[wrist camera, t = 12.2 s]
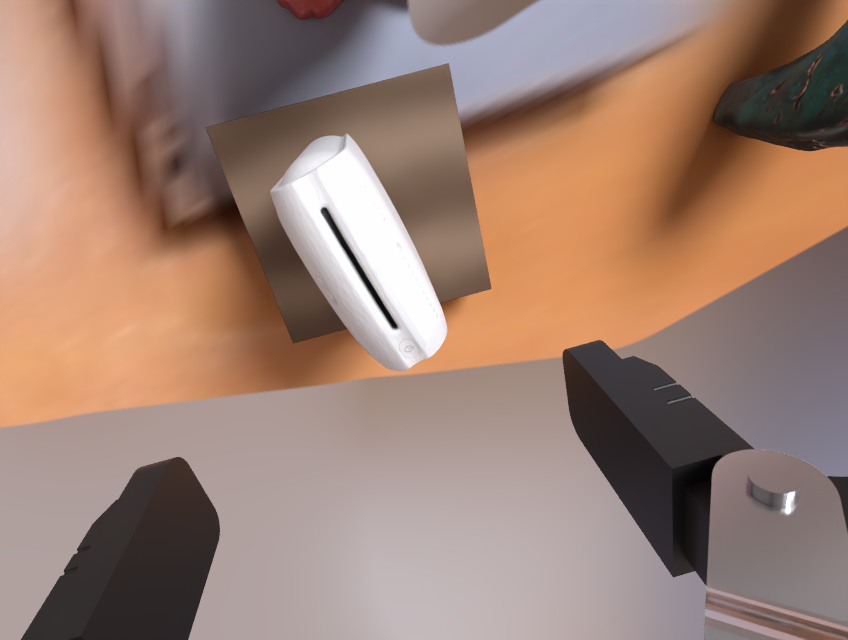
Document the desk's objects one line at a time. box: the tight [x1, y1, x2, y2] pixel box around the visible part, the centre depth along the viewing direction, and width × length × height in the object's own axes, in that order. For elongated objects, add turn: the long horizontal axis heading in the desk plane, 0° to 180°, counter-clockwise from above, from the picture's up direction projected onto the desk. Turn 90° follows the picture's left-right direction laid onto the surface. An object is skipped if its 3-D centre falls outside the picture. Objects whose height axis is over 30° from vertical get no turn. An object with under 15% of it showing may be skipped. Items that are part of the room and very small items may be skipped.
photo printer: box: [270, 134, 447, 371], centre depth 24 cm, size 10×4×12 cm, turn 27°
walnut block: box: [205, 63, 491, 343], centre depth 31 cm, size 14×14×4 cm
